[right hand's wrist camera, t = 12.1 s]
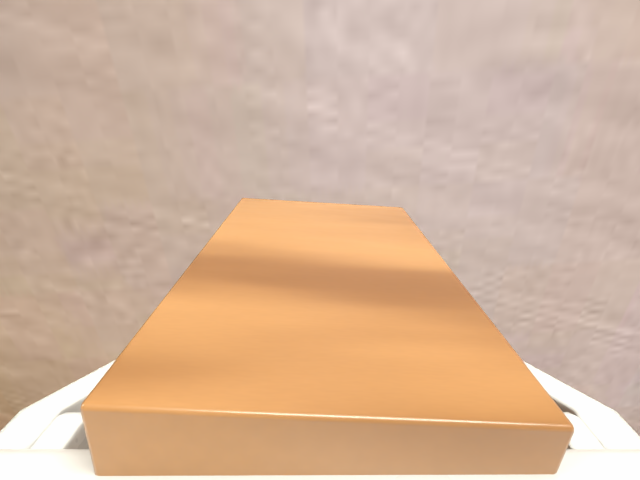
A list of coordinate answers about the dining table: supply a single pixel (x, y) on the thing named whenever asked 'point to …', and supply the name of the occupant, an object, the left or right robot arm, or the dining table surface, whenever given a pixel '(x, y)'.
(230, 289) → the box
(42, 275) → the dining table surface
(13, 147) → the dining table surface
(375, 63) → the dining table surface
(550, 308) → the dining table surface
